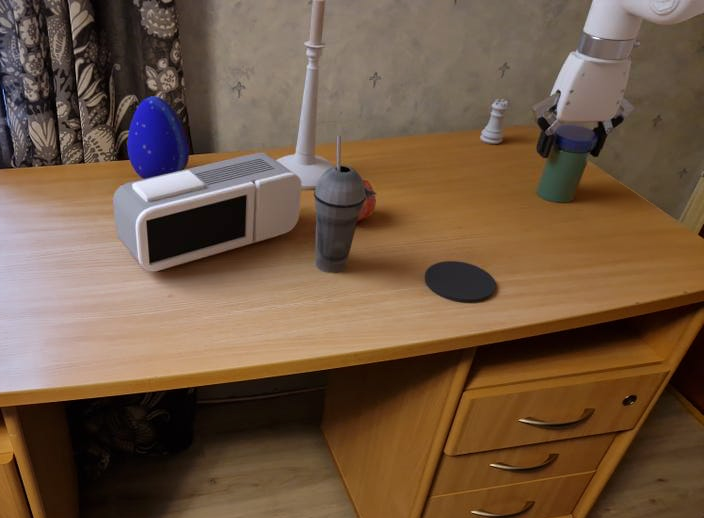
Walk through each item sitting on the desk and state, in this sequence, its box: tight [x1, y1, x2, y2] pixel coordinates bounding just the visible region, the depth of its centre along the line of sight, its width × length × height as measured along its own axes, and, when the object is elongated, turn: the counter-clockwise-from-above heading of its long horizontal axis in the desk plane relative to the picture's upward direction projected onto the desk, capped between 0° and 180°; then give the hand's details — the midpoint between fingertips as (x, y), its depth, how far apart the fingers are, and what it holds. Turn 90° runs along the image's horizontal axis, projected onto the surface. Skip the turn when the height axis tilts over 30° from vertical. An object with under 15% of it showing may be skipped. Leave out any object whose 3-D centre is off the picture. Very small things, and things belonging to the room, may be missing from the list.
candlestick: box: [275, 0, 336, 191], centre depth 117 cm, size 13×13×30 cm
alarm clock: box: [112, 151, 302, 272], centre depth 103 cm, size 27×9×12 cm, turn 119°
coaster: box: [424, 260, 497, 304], centre depth 99 cm, size 10×10×1 cm
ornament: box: [126, 95, 190, 180], centre depth 119 cm, size 11×9×15 cm
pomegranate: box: [357, 179, 378, 222], centre depth 112 cm, size 7×7×10 cm
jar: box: [535, 143, 592, 204], centre depth 118 cm, size 6×6×10 cm
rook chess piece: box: [479, 98, 509, 145], centre depth 136 cm, size 4×4×8 cm
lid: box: [553, 124, 599, 151], centre depth 114 cm, size 7×7×2 cm
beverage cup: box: [313, 133, 366, 274], centre depth 96 cm, size 7×7×20 cm
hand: (566, 154), depth 116 cm, fingers open, 8 cm apart
